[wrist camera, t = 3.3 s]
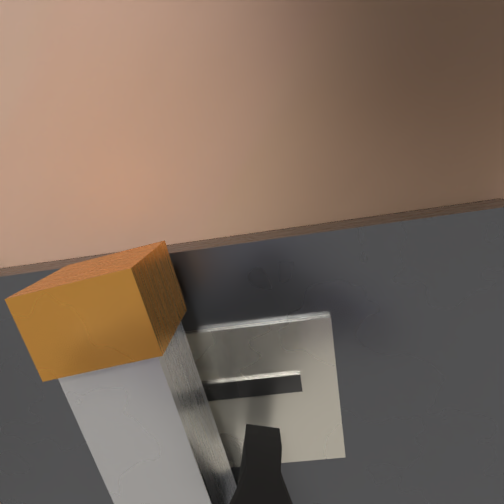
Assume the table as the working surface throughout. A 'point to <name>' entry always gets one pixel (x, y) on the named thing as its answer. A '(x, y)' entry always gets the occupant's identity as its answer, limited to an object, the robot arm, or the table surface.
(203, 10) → the table surface
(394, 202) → the table surface
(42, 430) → the panel
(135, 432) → the cable arm
